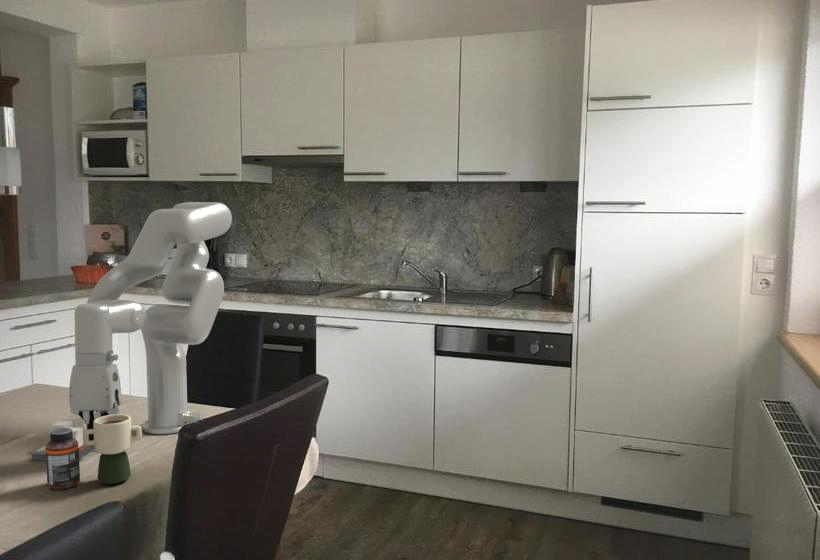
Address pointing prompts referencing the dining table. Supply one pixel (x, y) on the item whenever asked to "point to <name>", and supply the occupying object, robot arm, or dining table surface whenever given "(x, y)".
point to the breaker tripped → (78, 435)
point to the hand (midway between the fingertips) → (95, 440)
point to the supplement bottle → (62, 460)
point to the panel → (41, 452)
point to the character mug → (113, 446)
